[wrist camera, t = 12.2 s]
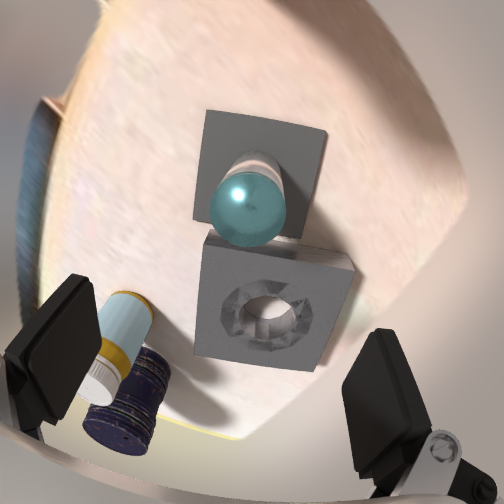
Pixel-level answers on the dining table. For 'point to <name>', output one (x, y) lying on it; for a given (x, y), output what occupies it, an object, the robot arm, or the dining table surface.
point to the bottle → (116, 346)
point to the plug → (249, 201)
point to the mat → (267, 140)
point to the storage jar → (131, 407)
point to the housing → (275, 285)
